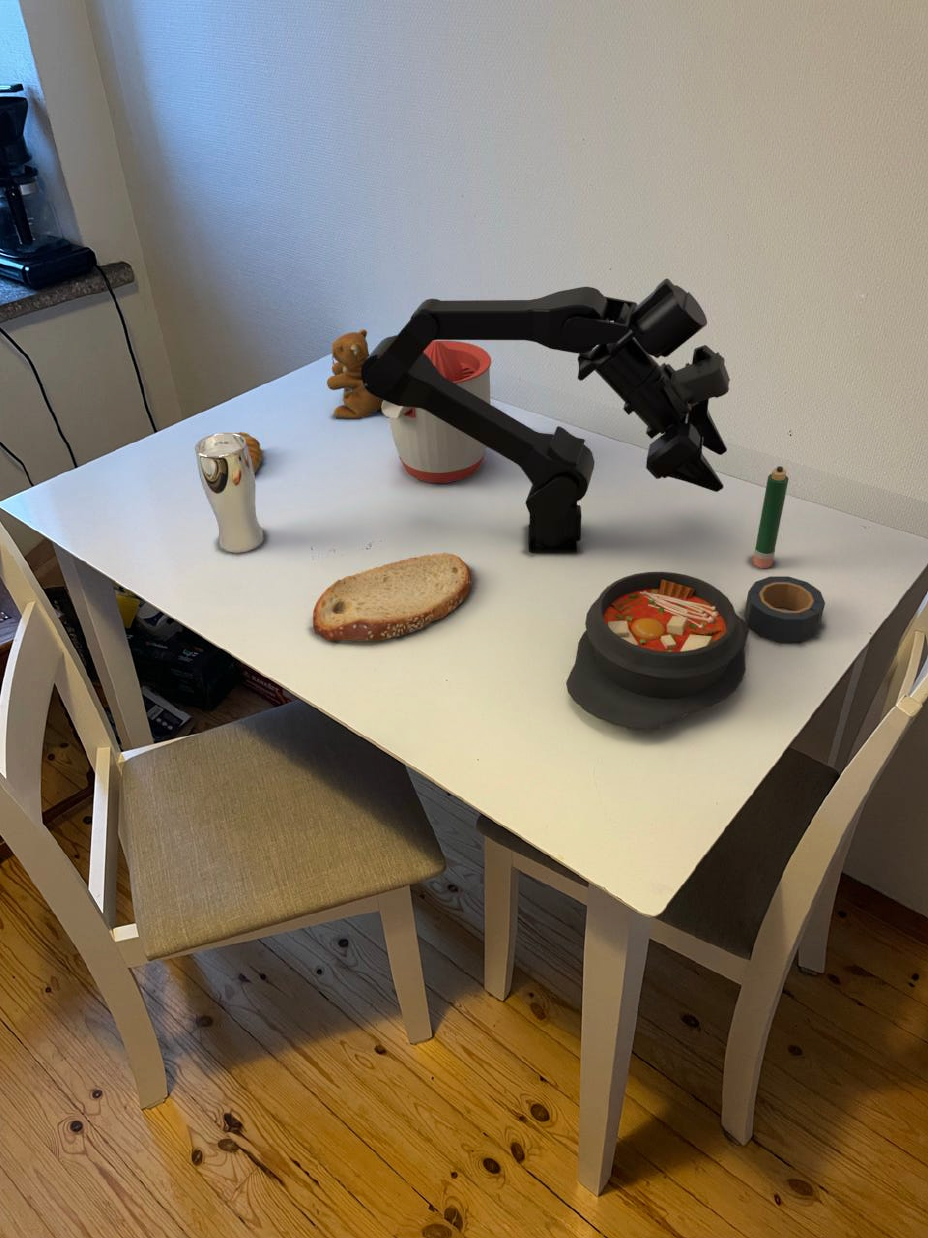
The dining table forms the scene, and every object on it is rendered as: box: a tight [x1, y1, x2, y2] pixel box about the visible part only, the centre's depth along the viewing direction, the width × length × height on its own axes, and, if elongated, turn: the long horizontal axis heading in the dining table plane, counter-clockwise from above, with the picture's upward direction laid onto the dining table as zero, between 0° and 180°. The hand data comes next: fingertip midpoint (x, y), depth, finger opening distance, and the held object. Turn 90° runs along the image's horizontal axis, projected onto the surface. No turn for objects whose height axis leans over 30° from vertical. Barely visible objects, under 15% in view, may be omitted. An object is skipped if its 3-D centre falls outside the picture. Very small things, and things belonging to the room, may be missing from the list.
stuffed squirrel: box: [326, 328, 384, 419], centre depth 160 cm, size 10×14×13 cm
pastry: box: [235, 431, 264, 474], centre depth 148 cm, size 9×7×4 cm
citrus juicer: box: [381, 340, 492, 485], centre depth 140 cm, size 16×17×20 cm
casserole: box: [566, 571, 750, 731], centre depth 106 cm, size 25×19×8 cm
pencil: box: [752, 465, 789, 569], centre depth 119 cm, size 2×2×14 cm
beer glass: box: [194, 432, 265, 554], centre depth 128 cm, size 7×7×15 cm
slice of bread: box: [312, 552, 473, 643], centre depth 119 cm, size 18×18×4 cm
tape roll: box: [744, 575, 826, 644], centre depth 113 cm, size 8×8×4 cm
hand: (722, 470), depth 117 cm, fingers open, 9 cm apart
